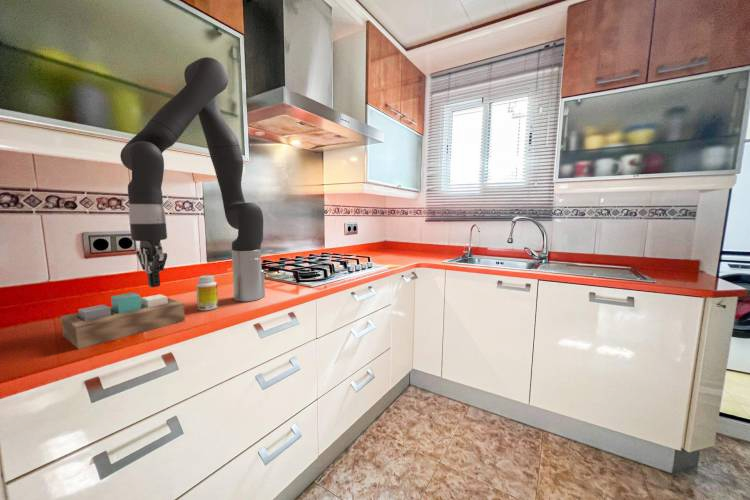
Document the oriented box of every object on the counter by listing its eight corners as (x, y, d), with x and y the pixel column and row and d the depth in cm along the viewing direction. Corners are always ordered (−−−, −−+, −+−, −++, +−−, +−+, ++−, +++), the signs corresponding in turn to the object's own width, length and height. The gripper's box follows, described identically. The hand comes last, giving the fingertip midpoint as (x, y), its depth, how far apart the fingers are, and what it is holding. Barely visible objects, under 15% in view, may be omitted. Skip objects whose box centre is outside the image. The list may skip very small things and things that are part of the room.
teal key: (134, 307, 77) (133, 292, 77) (141, 310, 75) (140, 295, 75) (112, 311, 74) (111, 296, 73) (119, 315, 71) (117, 299, 71)
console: (164, 312, 87) (163, 296, 86) (184, 320, 80) (183, 303, 80) (63, 336, 69) (61, 316, 69) (78, 349, 63) (76, 326, 62)
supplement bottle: (221, 308, 92) (219, 276, 91) (201, 312, 88) (199, 278, 87) (214, 304, 95) (213, 273, 94) (195, 308, 91) (193, 276, 90)
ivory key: (161, 308, 83) (160, 294, 82) (168, 310, 80) (167, 296, 80) (141, 312, 79) (140, 297, 78) (148, 315, 76) (147, 300, 76)
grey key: (105, 320, 73) (103, 304, 72) (111, 323, 70) (110, 307, 70) (80, 325, 69) (78, 309, 68) (86, 329, 66) (84, 312, 66)
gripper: (176, 222, 76) (181, 286, 79) (153, 221, 84) (159, 280, 86) (141, 222, 70) (148, 293, 72) (120, 221, 77) (127, 286, 79)
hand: (154, 286), depth 79 cm, fingers closed
